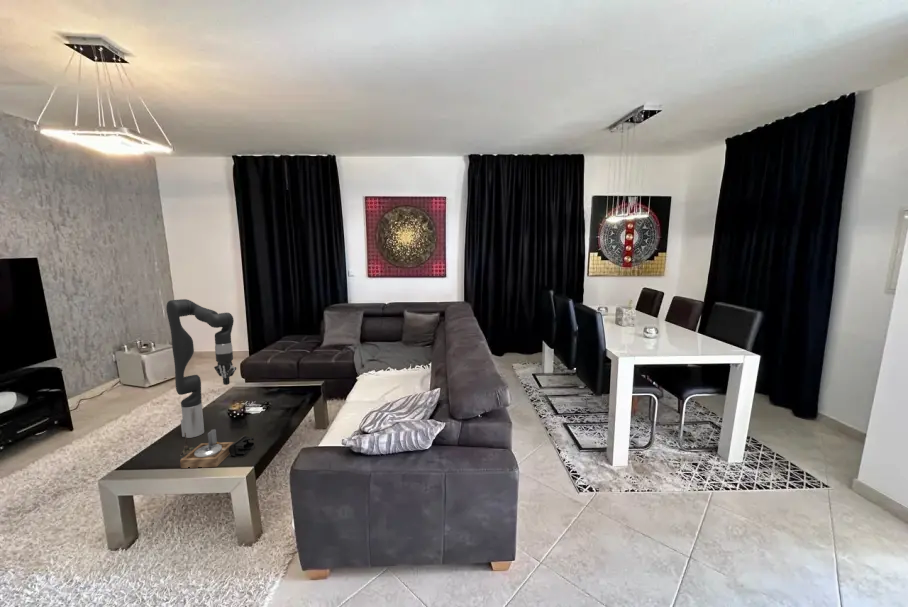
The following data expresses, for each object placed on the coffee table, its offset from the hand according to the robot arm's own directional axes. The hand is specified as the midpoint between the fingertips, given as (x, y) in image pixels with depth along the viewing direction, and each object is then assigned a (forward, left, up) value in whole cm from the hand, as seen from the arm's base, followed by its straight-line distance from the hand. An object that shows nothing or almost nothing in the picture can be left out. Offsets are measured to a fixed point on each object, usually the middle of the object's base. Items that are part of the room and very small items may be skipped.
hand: (226, 384), depth 191 cm
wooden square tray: (-2, -16, -32) cm, 36 cm away
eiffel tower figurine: (-15, -12, -33) cm, 38 cm away
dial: (-3, -15, -29) cm, 33 cm away
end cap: (+11, -10, -32) cm, 36 cm away
